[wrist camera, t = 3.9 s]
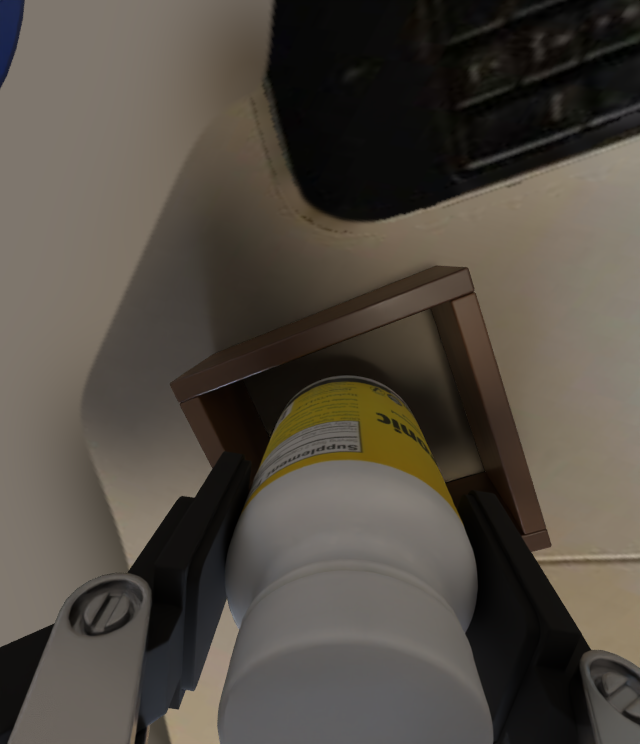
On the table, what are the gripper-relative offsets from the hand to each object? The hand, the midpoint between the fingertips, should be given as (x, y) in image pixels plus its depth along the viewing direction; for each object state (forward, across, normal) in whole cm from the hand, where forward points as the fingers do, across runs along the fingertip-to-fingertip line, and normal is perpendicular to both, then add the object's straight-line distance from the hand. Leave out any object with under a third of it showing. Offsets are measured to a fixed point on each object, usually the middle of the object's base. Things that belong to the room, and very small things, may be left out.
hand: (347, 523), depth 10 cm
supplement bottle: (+5, 0, 0) cm, 5 cm away
